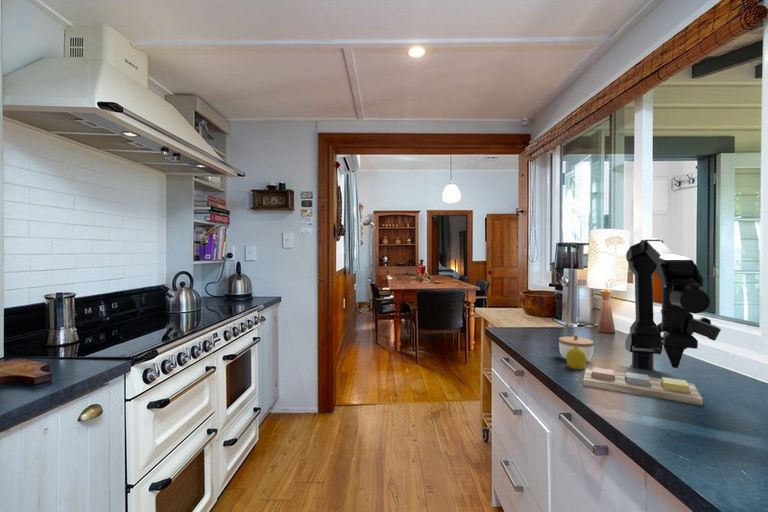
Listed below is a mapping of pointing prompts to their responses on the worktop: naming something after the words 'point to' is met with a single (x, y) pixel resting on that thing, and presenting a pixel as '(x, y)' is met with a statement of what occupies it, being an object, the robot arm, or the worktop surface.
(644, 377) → the grey button
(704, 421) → the worktop surface
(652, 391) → the button board
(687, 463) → the worktop surface
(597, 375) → the clay button
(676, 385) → the yellow button
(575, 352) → the lemon
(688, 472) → the worktop surface
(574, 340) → the lidded jar
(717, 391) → the worktop surface
